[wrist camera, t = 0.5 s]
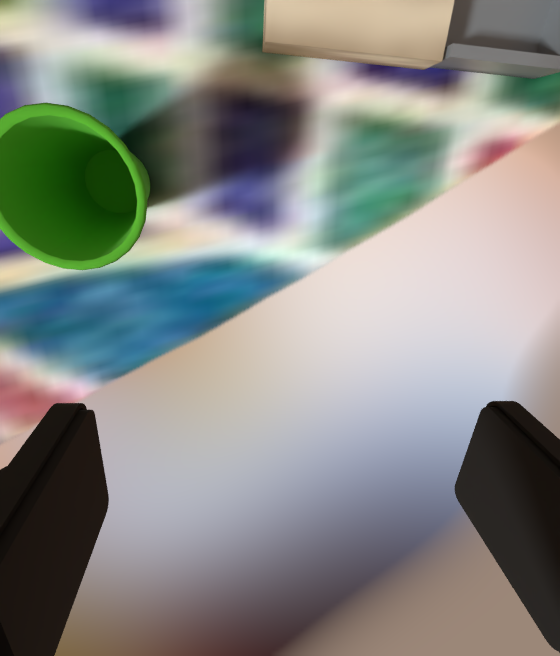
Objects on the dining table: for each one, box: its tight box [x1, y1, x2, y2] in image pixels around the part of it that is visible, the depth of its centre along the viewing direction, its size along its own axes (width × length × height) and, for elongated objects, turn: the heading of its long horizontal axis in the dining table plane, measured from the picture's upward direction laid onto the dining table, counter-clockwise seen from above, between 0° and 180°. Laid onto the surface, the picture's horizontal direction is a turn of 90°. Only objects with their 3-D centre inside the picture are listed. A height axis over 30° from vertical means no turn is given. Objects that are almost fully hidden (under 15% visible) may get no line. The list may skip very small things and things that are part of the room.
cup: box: [0, 103, 150, 270], centre depth 27 cm, size 9×9×11 cm
